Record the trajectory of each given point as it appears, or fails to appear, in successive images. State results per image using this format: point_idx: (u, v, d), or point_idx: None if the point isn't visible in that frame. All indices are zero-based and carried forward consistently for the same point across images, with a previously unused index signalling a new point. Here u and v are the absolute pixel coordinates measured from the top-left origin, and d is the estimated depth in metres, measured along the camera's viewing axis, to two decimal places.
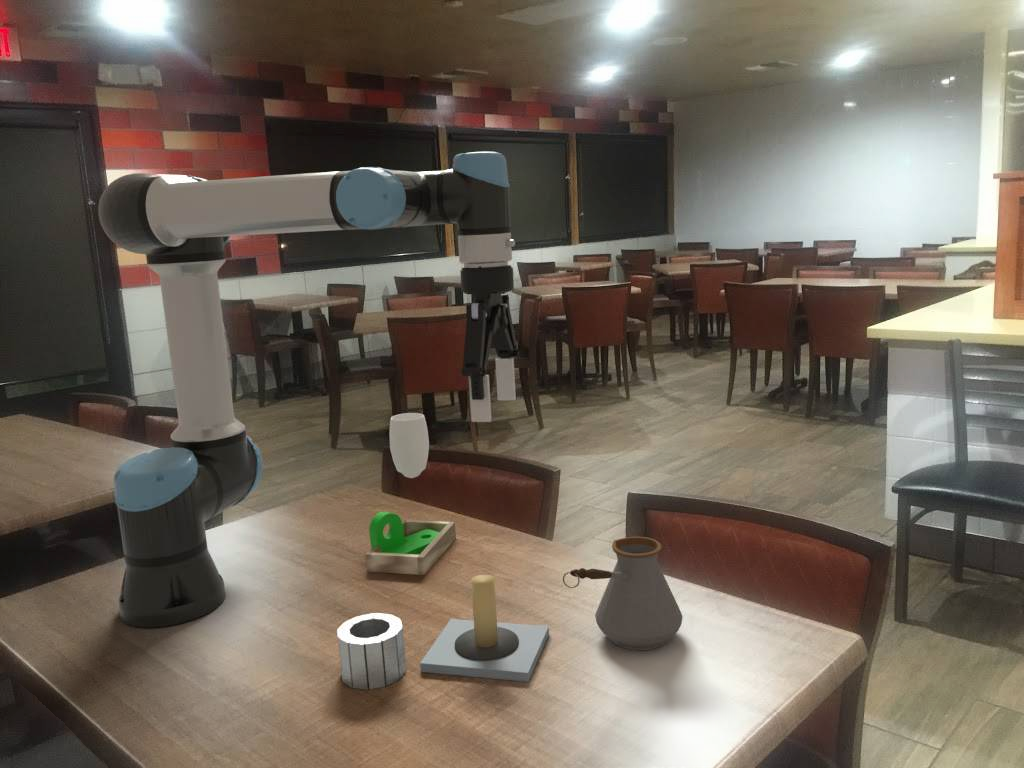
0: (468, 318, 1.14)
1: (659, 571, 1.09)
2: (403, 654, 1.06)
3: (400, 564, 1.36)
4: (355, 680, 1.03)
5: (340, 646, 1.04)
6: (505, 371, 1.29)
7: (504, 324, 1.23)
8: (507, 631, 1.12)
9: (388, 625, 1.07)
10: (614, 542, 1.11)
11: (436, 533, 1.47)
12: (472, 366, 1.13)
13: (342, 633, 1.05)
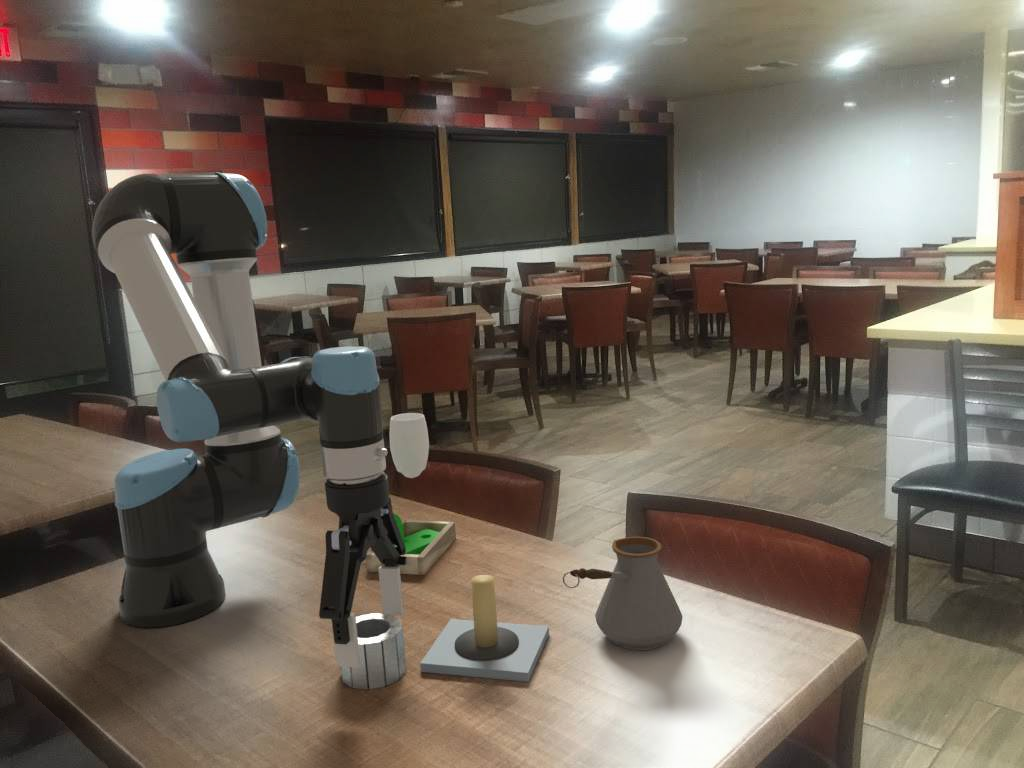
0: (328, 549, 0.97)
1: (659, 571, 1.09)
2: (403, 654, 1.06)
3: None
4: (355, 680, 1.03)
5: None
6: (390, 582, 1.11)
7: (382, 537, 1.05)
8: (507, 631, 1.12)
9: (388, 625, 1.07)
10: (614, 542, 1.11)
11: (436, 533, 1.47)
12: (330, 610, 0.95)
13: None
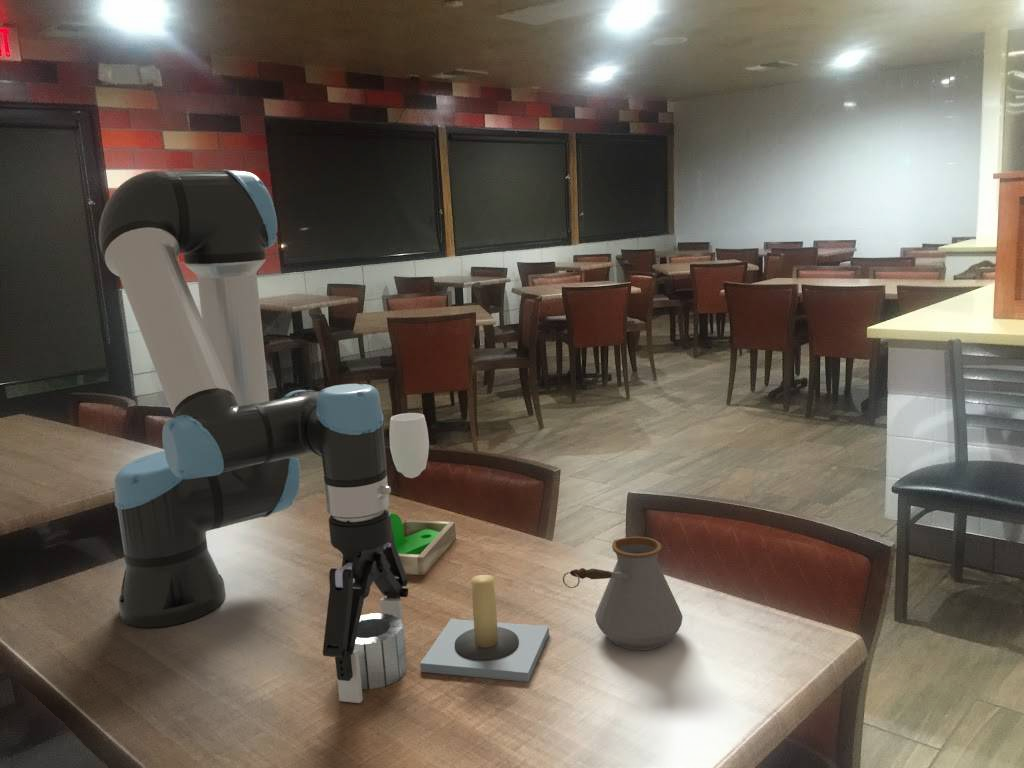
0: (331, 587, 0.98)
1: (659, 571, 1.09)
2: (403, 654, 1.06)
3: None
4: None
5: None
6: (392, 614, 1.12)
7: (384, 572, 1.06)
8: (507, 631, 1.12)
9: (388, 625, 1.07)
10: (614, 542, 1.11)
11: (436, 533, 1.47)
12: (334, 648, 0.96)
13: None
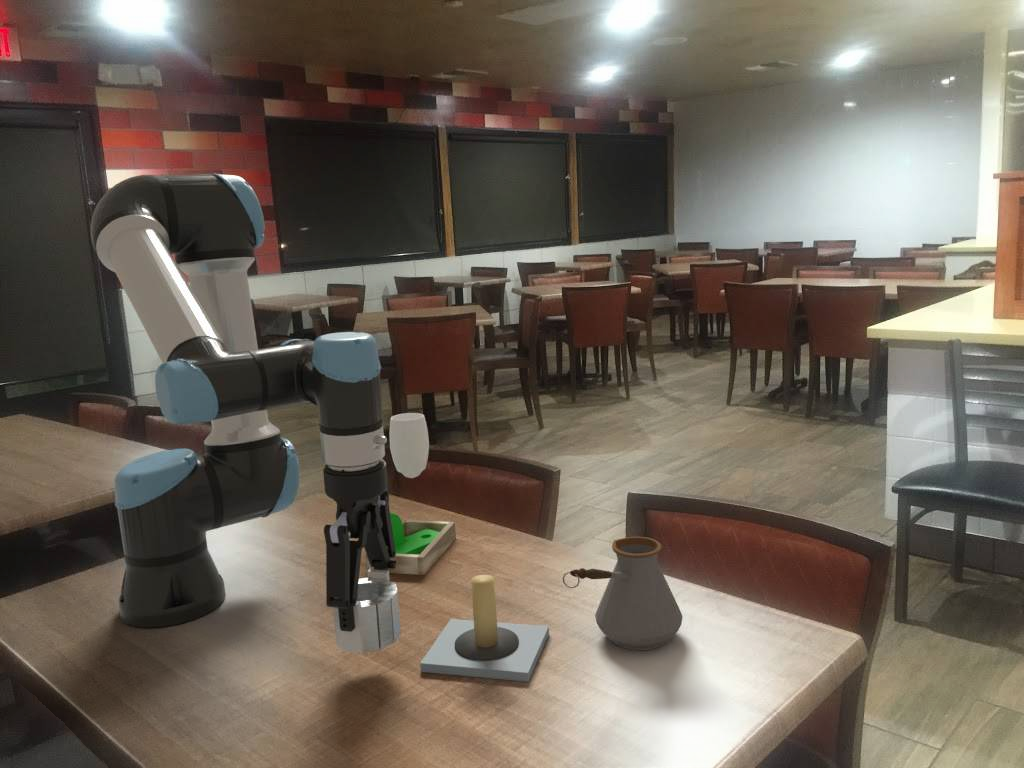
0: (328, 543, 0.97)
1: (659, 571, 1.09)
2: (398, 618, 1.05)
3: (400, 564, 1.36)
4: None
5: (334, 609, 1.03)
6: None
7: (377, 528, 1.05)
8: (507, 631, 1.12)
9: (383, 589, 1.07)
10: (614, 542, 1.11)
11: (436, 533, 1.47)
12: (337, 599, 0.98)
13: None
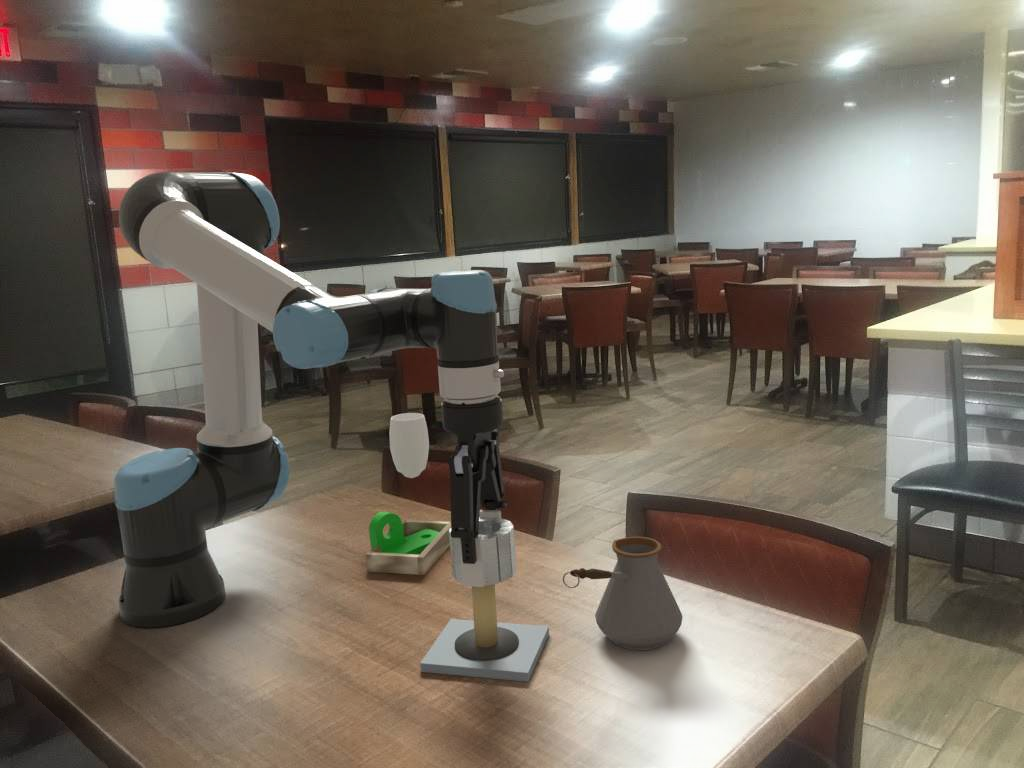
0: (452, 474, 0.99)
1: (659, 571, 1.09)
2: (514, 553, 1.07)
3: (400, 564, 1.36)
4: None
5: (454, 544, 1.05)
6: None
7: (491, 465, 1.07)
8: (507, 631, 1.12)
9: (498, 526, 1.08)
10: (614, 542, 1.11)
11: (436, 533, 1.47)
12: (462, 529, 0.99)
13: None
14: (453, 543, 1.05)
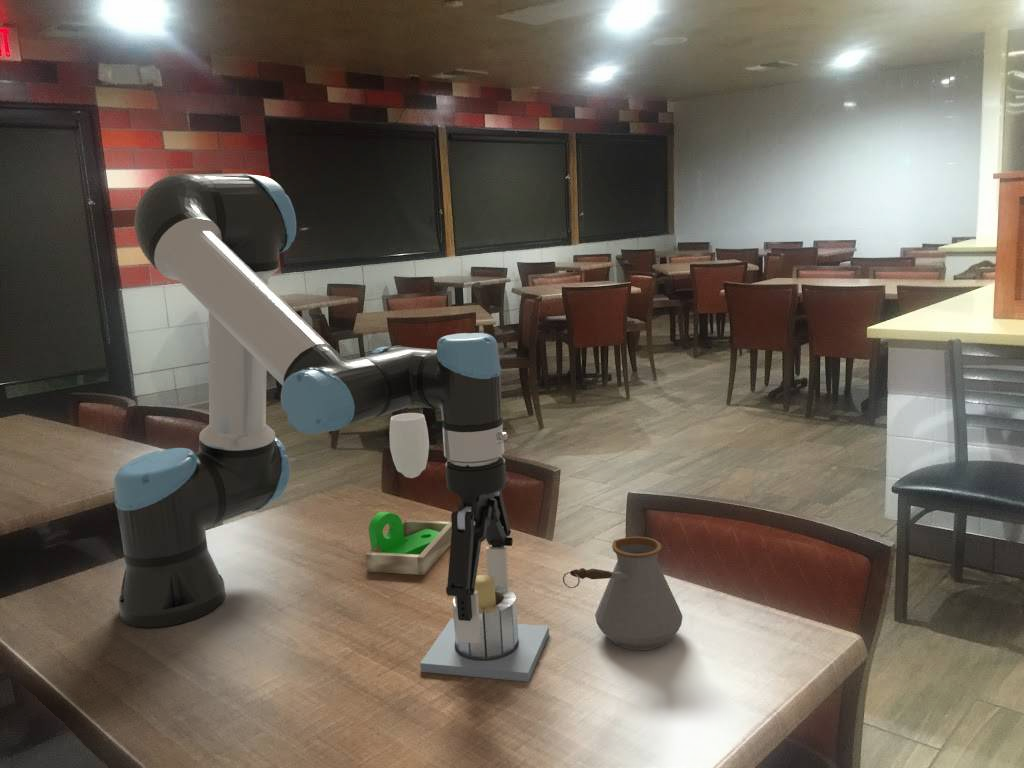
0: (453, 529, 1.00)
1: (659, 571, 1.09)
2: (516, 624, 1.09)
3: (400, 564, 1.36)
4: (473, 649, 1.06)
5: None
6: (497, 562, 1.14)
7: (495, 518, 1.09)
8: None
9: (501, 596, 1.10)
10: (614, 542, 1.11)
11: (436, 533, 1.47)
12: (458, 588, 0.98)
13: None
14: None
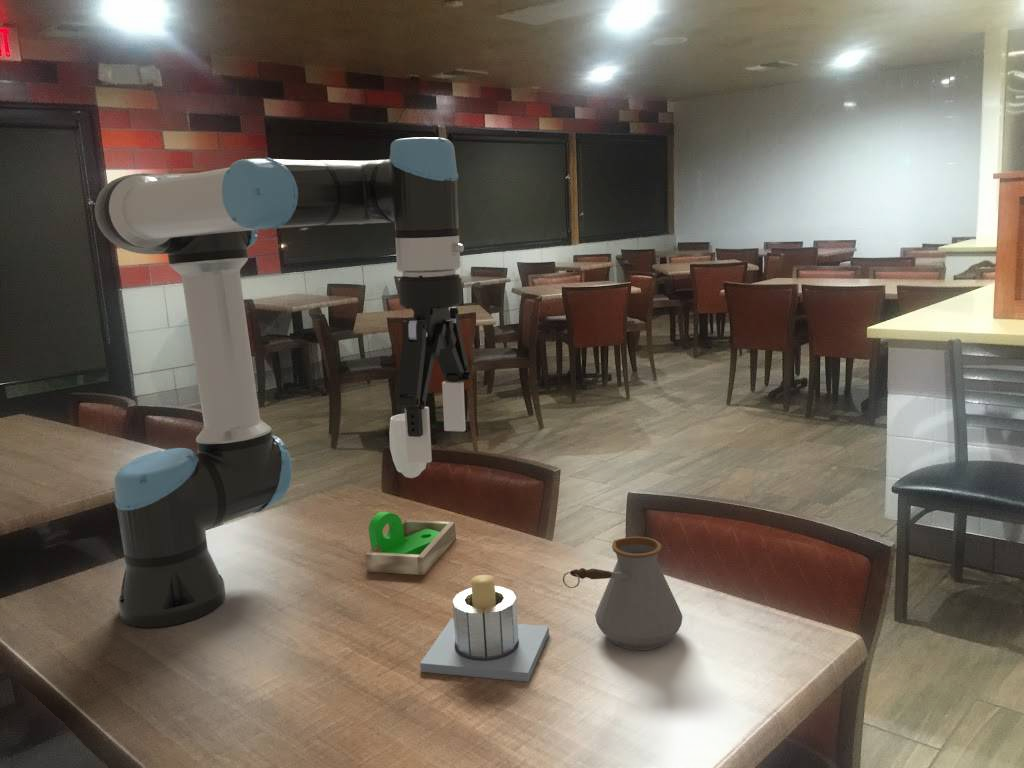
0: (404, 338, 0.95)
1: (659, 571, 1.09)
2: (516, 624, 1.09)
3: (400, 564, 1.36)
4: (473, 649, 1.06)
5: (457, 616, 1.07)
6: (453, 397, 1.09)
7: (451, 343, 1.04)
8: None
9: (501, 596, 1.10)
10: (614, 542, 1.11)
11: (436, 532, 1.47)
12: (407, 397, 0.93)
13: (459, 603, 1.08)
14: (457, 615, 1.07)
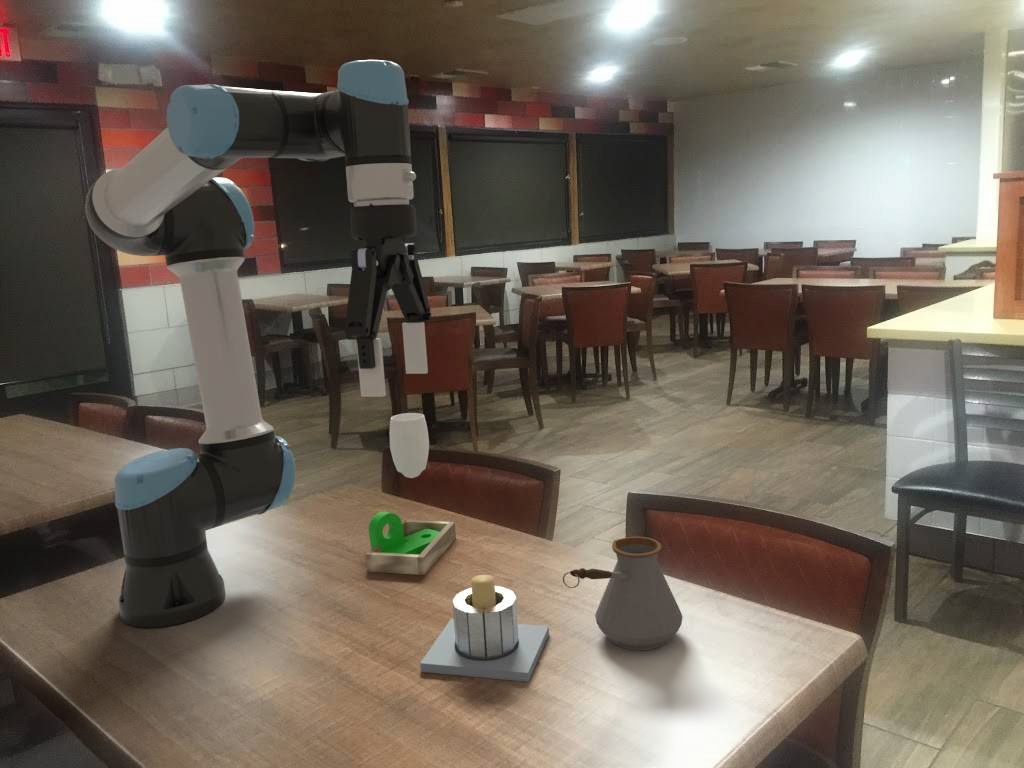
0: (354, 267, 0.92)
1: (659, 571, 1.09)
2: (516, 624, 1.09)
3: (400, 564, 1.36)
4: (473, 649, 1.06)
5: (457, 616, 1.07)
6: (414, 338, 1.06)
7: (408, 279, 1.01)
8: None
9: (501, 596, 1.10)
10: (614, 542, 1.11)
11: (436, 532, 1.47)
12: (356, 326, 0.90)
13: (459, 603, 1.08)
14: (457, 615, 1.07)
